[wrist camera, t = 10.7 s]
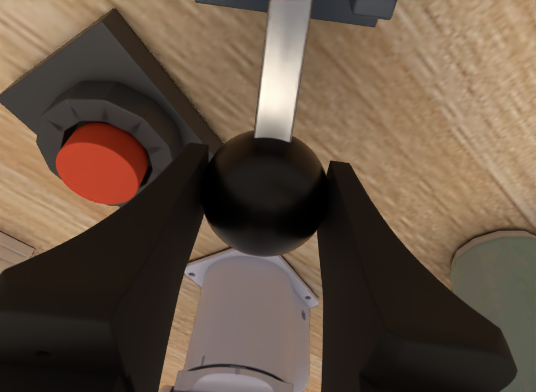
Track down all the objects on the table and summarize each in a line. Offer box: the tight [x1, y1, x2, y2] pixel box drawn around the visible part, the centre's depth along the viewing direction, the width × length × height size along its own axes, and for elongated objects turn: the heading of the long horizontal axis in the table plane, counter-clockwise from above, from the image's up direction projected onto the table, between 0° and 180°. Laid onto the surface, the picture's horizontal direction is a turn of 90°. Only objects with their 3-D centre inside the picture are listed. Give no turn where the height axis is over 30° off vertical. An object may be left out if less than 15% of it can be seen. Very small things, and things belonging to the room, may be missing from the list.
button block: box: [0, 8, 223, 208], centre depth 21 cm, size 10×8×4 cm
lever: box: [201, 0, 328, 257], centre depth 11 cm, size 11×4×4 cm, turn 174°
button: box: [56, 122, 148, 204], centre depth 20 cm, size 4×4×2 cm
